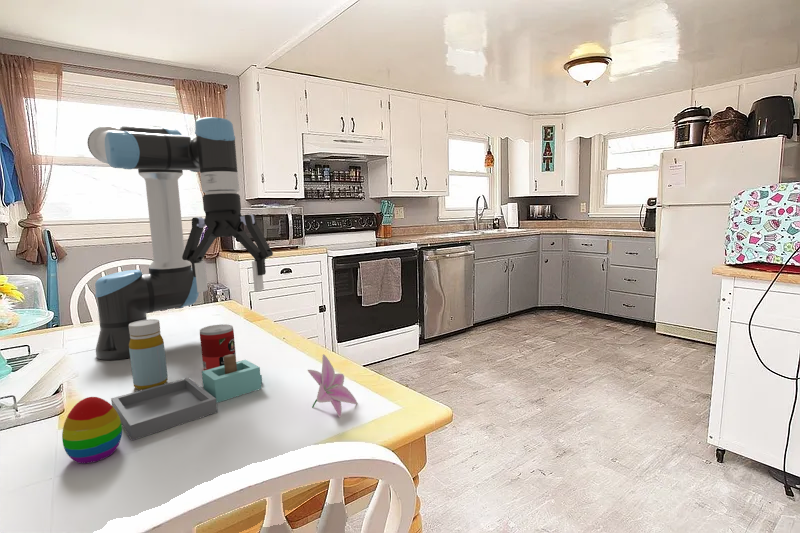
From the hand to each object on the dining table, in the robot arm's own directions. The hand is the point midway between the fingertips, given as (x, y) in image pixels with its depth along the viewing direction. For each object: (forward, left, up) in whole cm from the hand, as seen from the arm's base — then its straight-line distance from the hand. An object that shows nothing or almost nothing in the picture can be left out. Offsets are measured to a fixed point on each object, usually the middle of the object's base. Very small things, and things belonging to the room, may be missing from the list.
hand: (230, 291), depth 99 cm
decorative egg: (+10, -29, -22) cm, 38 cm away
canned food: (-14, +1, -22) cm, 27 cm away
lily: (+25, +8, -23) cm, 35 cm away
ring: (+1, -2, -22) cm, 22 cm away
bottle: (-17, -14, -22) cm, 31 cm away
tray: (+1, -16, -22) cm, 27 cm away
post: (+1, -2, -22) cm, 22 cm away
